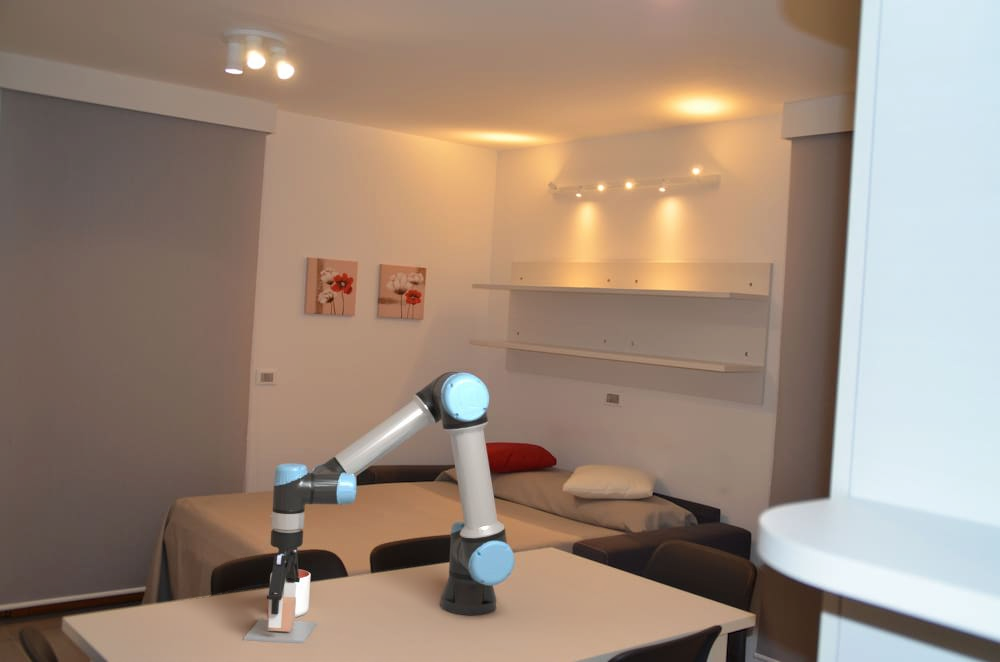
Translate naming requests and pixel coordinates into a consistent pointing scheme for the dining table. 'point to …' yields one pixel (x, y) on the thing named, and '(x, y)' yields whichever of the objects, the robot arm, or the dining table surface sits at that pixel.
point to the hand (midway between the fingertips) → (282, 618)
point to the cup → (301, 592)
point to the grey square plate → (281, 632)
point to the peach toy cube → (286, 615)
